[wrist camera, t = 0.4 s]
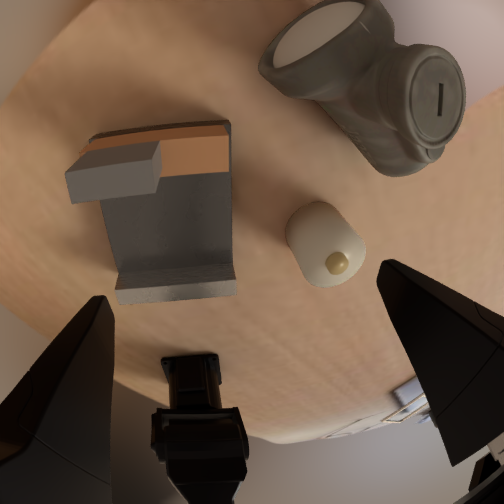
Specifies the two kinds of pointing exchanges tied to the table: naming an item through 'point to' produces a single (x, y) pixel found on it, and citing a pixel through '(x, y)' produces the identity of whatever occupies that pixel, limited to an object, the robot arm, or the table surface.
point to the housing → (324, 244)
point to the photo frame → (404, 408)
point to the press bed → (173, 234)
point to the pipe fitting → (370, 82)
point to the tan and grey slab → (145, 161)
